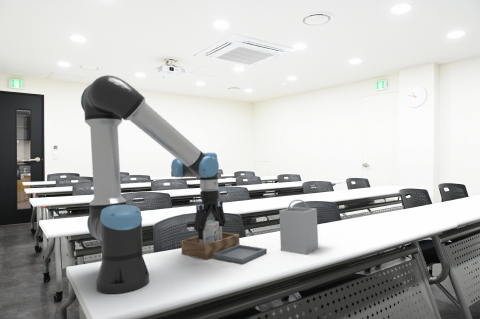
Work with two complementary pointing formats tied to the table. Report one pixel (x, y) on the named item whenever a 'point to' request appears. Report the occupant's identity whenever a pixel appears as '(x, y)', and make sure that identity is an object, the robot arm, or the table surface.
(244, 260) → the tray
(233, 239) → the crate
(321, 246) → the table surface
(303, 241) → the caddy
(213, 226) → the ink box
